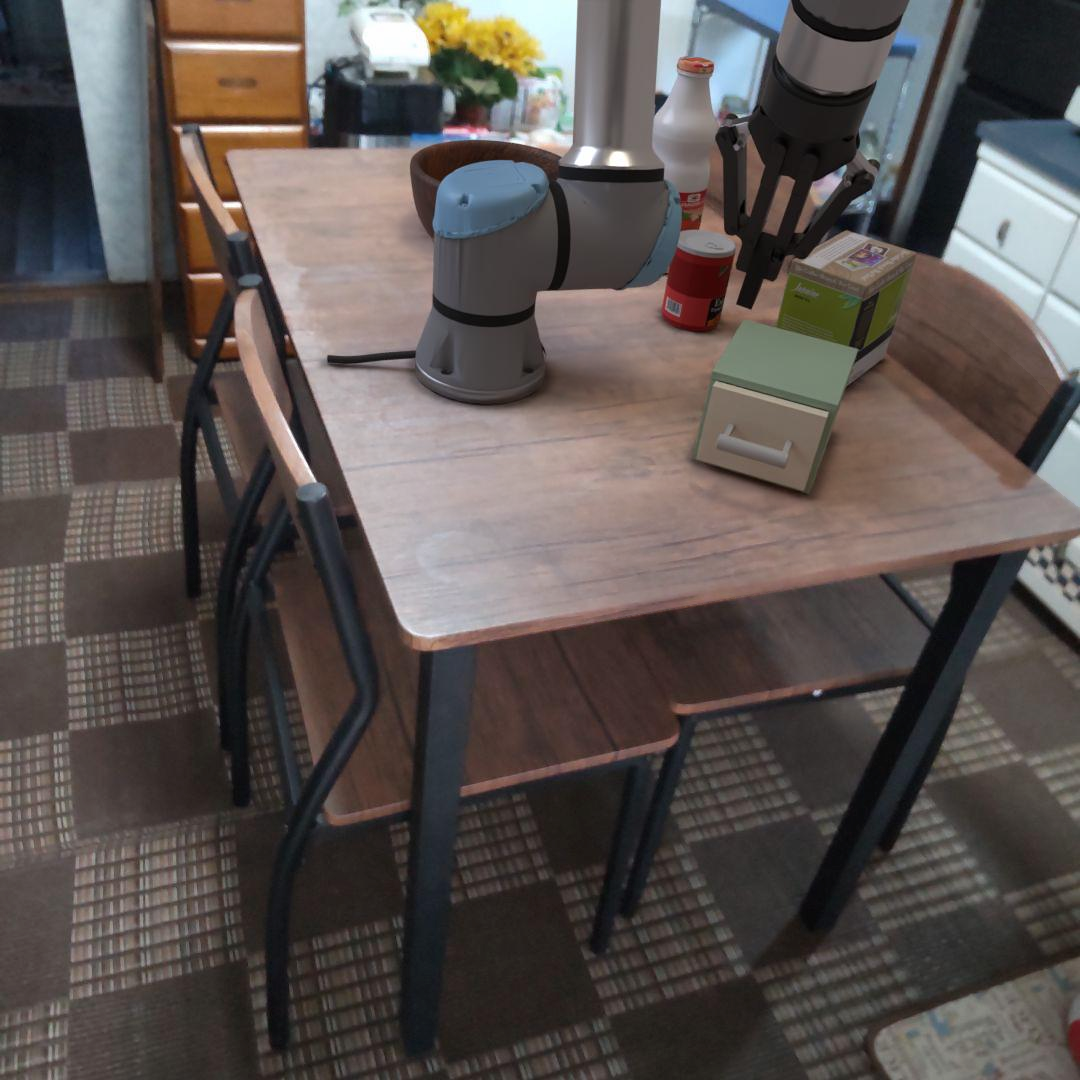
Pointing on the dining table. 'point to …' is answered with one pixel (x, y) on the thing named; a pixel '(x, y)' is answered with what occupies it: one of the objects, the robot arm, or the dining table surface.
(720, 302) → the canned food
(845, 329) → the tea box
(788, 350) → the mini drawer cabinet
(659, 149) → the fruit juice
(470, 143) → the wooden bowl
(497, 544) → the dining table surface
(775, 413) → the cabinet drawer
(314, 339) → the dining table surface
